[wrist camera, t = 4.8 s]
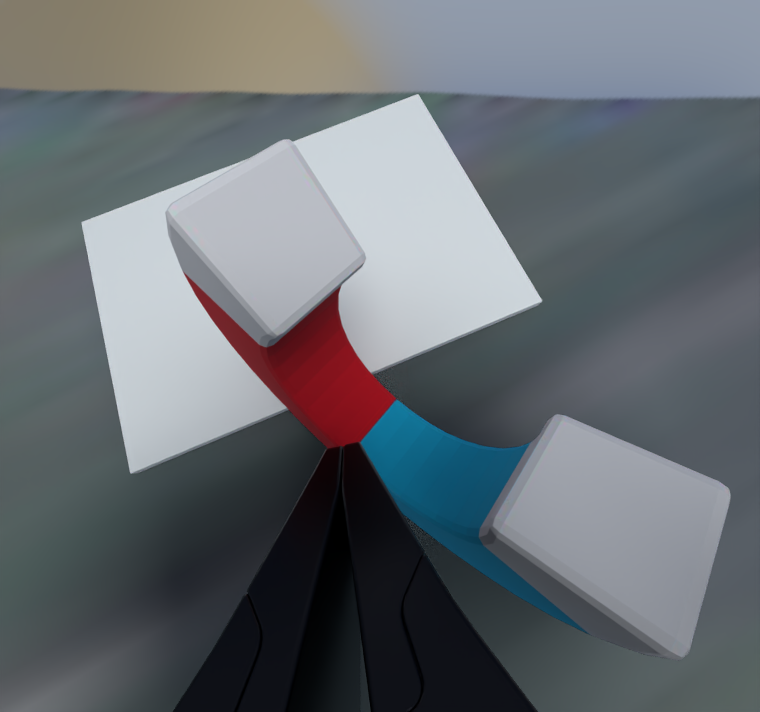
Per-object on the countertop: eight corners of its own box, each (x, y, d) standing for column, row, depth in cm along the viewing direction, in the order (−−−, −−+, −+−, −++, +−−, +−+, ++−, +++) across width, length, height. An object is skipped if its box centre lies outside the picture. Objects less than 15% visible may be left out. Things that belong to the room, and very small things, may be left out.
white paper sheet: (538, 305, 16) (542, 301, 16) (139, 472, 15) (130, 473, 15) (417, 102, 20) (417, 94, 19) (89, 227, 19) (81, 222, 18)
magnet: (488, 504, 14) (799, 536, 5) (453, 563, 13) (765, 738, 4) (287, 328, 15) (247, 99, 6) (240, 369, 14) (110, 166, 5)
